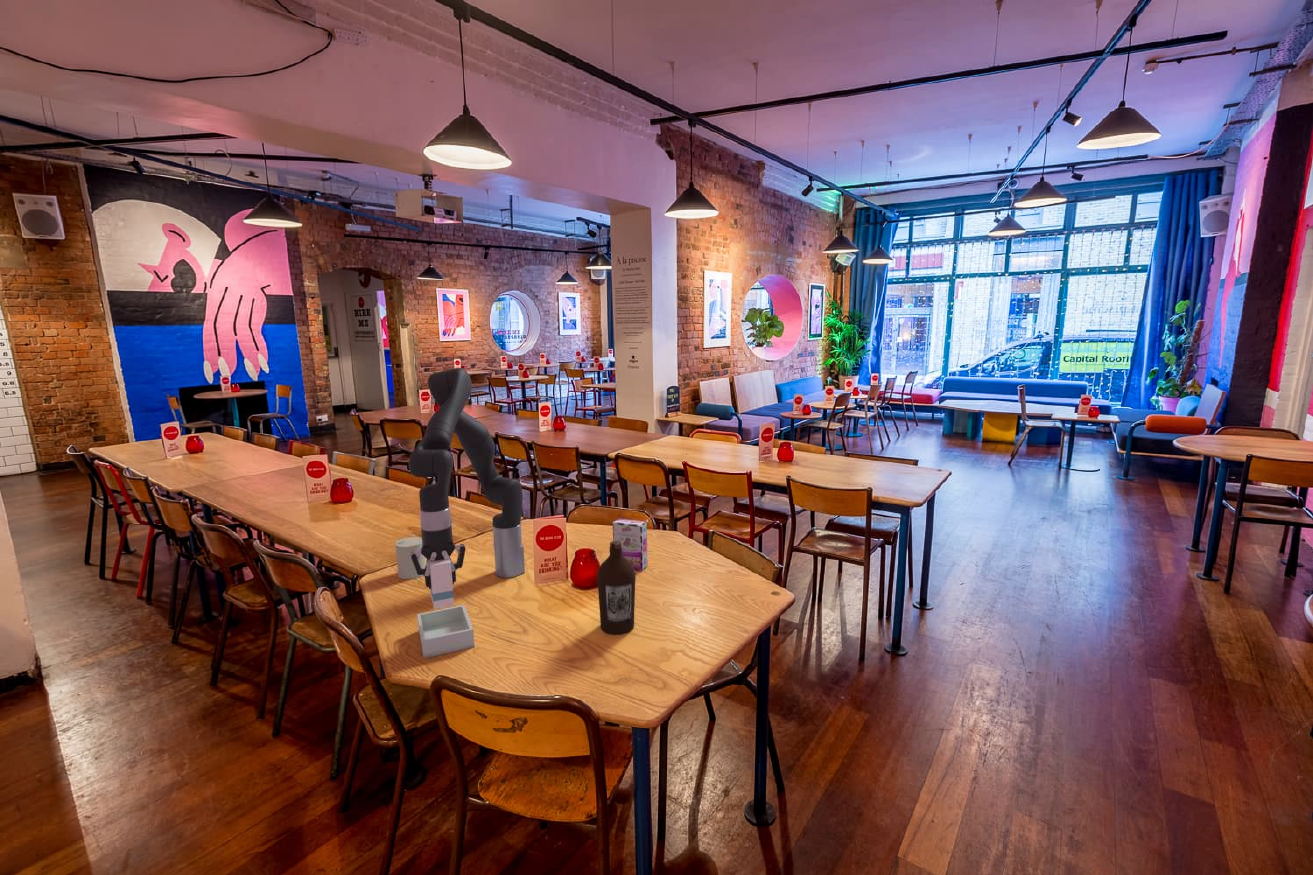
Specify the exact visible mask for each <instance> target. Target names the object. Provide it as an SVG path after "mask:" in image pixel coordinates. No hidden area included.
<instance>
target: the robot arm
mask: <svg viewBox="0 0 1313 875" xmlns="http://www.w3.org/2000/svg"><path fill="white" fill-rule="evenodd" d="M427 384H428V389H429V391H430V393H431V396H432V398H433V399H434V401H435V402H436V405H437V406H438V407H439V408H438V409H437V410H436V411H435V412H434V413H433V414H432V416H431V417H430V419H429V420H428V422H427V424H426V429H425V432H424V436H423V438H422V439H420V441H419V443H418V444H417V445H416V447H415V448H414V449H413V450H412V452H411V453H410V457H409V460H408V470H409V472H410V474H411V475H412V476H413V477H415V478H437V482H435V483H432V484H428V485H424V486H422V487H421V488H420V489H419V493H418V495H419V496H418V497H419V507H420V516H419V521H420V533H421V538H422V548H421V550H420V551H417V552H411V559H412V561H413V564H414V566H415V569H416V572H417V574H418V575H423V576H424V584H425V587H426V588H428V590H430V589H432V587H431V576H430V562H434V561H437V560H443V559H445V560H448V559H450V561H451V570H452V583H453V585H455V583H457V570H458V569H462V568H463V566H464V559H465V553H466V546H465V544H464V543H460V544H455V543H454V541H453V528H452V527H453V526H452V523H453V522H452V514H451V509H450V501H449V498H450V497H449V486H450V479H451V474H452V471H453V467H454V458H453V455H452V454H451V452H450V451H449V449H450V447H451V445H452V442H453V438H454V433H455V435H456V437H457V439H458V441H459V443H460V445H461V447H462V449H463V450H464V453H465V455H466V456H467V458H468V459H469V461H470V463H471V466H472V468H473V469H474V472H475V474H476V476H477V478H478V480H479V483H480V486H481V488H482V491H483V493H484V495H485V497H486V499H487V500H488V501H489V502H490V503H492V504H494V505H499V506H502V507H501V509H502V511H501V512H500V513H498V514H495V515H494V516H493V517H492V520H491V522H492V534H493V535H492V536H493V550H494V564H495V565H494V566H495V567H494V569H495V575H496V576H497V577H499V576H500V577H499V578H514V577H517V576H520V575H522V574H526V567H525V547H524V545H523V541H522V539H523V538H522V522H521V521H522V516H523V488H522V484H521V482H520V481H519V480H518V479H515V478H511V477H503V476H501V475H500V473H499V472H498V470H497V468H496V466H495V464H494V460H495V459H494V458H495V453H496V445H495V442H494V439H493V437H492V436H491V434H490V432H489V430H488V428H487V426H486V425H485V424H483V423H482V422H481V421H480V420H478V419H477V418H476V417H473V416H472V415H470V414H468V413H467V412H466V411H464V408H465V406H466V405H467V403H468V400H469V398H470V396H471V394H472V390H473V384H472V379H471V376H470V374H469V373H468V371H467V370H466V369H465V368H463V367H455V368H449V369H446V370H441V371H438V372H434V373H431V374H430V375H429V376H428V378H427ZM455 550H456V551H455ZM454 551H455V552H456V553H457V558H456V562H455V563H454V562H453V560H452V557H451V555H452V554H453V552H454ZM421 555H423V556H424V557H425V562H426V566H425V569H422V568H421V567H420V564H419V561H418V560H420V556H421Z"/></svg>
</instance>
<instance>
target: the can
mask: <svg viewBox="0 0 1313 875" xmlns="http://www.w3.org/2000/svg"><path fill="white" fill-rule="evenodd" d="M394 543H395V544H394V545H395V554H396V555H395V556H396V565H397V577H398V578H399V579H401V580H414V579H418V578H421V577H423V576H424V575H418V574H417V572H416V569H415V566H414V564H413V561H412V559H411V552H417V551H420V550H421V548H422V537H420V536H412V537H411V536H409V537H405V538H401V539H399V540H397V541H396V542H394ZM418 561H419V564H420V567H421V568H422V569H425V566H426V558H425V557H424V556H423V555H421V556H420V560H418Z"/></svg>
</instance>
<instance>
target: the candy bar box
mask: <svg viewBox="0 0 1313 875" xmlns="http://www.w3.org/2000/svg"><path fill="white" fill-rule="evenodd" d="M647 524H648V523H647V521H643V520H634V519H626V518H617V519H616V520H615V521H612V541H620V542H621V546H622V555H623V557H625V558H626V559H627V560H628V561H629V562H630V563H631V564H632V566H633V567H634V570H635V571H641V572H643V571H644V570H645V569H646V568H647V567H648V565H649V564H648V525H647Z"/></svg>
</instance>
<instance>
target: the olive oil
mask: <svg viewBox="0 0 1313 875" xmlns="http://www.w3.org/2000/svg"><path fill="white" fill-rule="evenodd" d="M596 574H597V575H596V583H597V591H598V592H597V593H598V607H599V619H600V620H599V621H600V622H599V623H600V624H599V625H600V630H601V631H602V632H603V633H605V634H607V635H611V636H622V635H626V634H629V633H630V632H632V631H633V630H634V628H635V600H636V580H637V579H636V578H637V576H636V570H634V567H633V566H632V564H631V563H630V562H629V561H628V560H627V559H626V558H625V557H623V555H622V546H621V542H620V541H613V540H612V541H610V542H609V555H608V557H606V559H605V560H604V561H603V562H602V563H601V564H600V566H599V567H598V569H597V573H596Z"/></svg>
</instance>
